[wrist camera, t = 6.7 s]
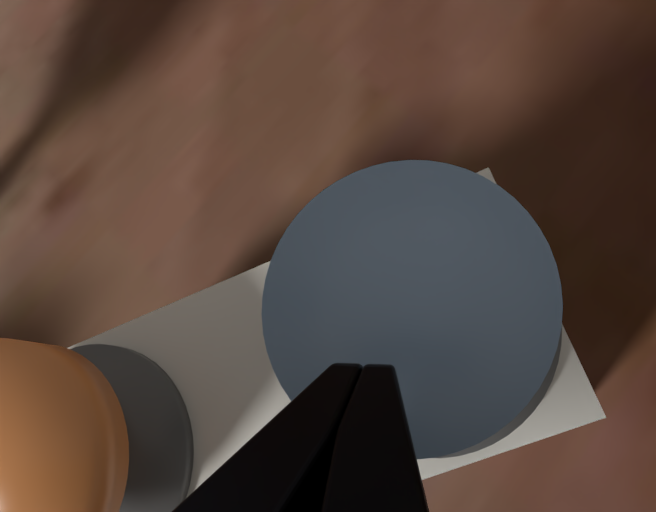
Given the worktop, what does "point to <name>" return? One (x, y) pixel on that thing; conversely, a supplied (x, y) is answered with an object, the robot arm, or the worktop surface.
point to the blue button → (418, 296)
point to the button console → (256, 391)
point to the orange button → (58, 432)
